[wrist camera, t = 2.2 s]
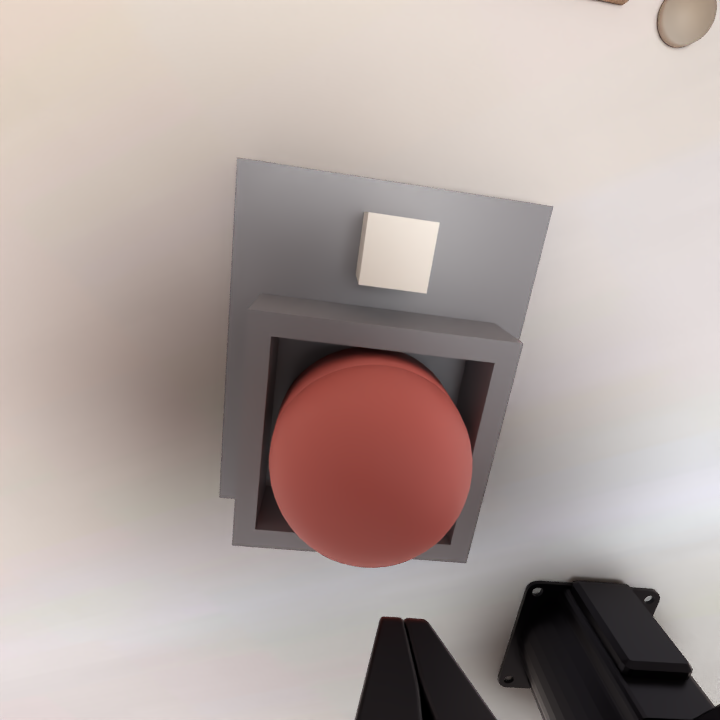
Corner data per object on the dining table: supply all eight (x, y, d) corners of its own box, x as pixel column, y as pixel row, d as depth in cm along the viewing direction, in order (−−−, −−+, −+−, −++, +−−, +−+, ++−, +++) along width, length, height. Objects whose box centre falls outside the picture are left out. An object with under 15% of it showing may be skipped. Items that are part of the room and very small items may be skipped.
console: (466, 503, 19) (493, 565, 16) (225, 482, 18) (201, 542, 15) (540, 206, 16) (595, 206, 12) (243, 161, 15) (217, 146, 11)
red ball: (429, 493, 18) (473, 626, 12) (274, 479, 17) (245, 612, 12) (460, 347, 16) (530, 423, 10) (288, 326, 15) (262, 394, 10)
